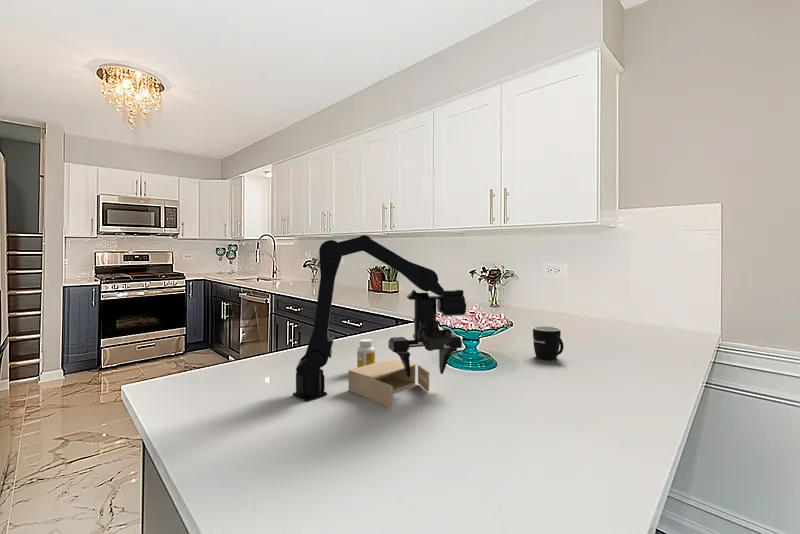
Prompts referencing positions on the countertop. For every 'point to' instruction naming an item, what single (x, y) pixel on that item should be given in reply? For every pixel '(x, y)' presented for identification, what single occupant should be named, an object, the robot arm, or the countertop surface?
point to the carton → (380, 376)
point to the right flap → (423, 377)
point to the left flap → (382, 392)
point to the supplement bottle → (365, 353)
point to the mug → (547, 342)
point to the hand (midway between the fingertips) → (425, 375)
